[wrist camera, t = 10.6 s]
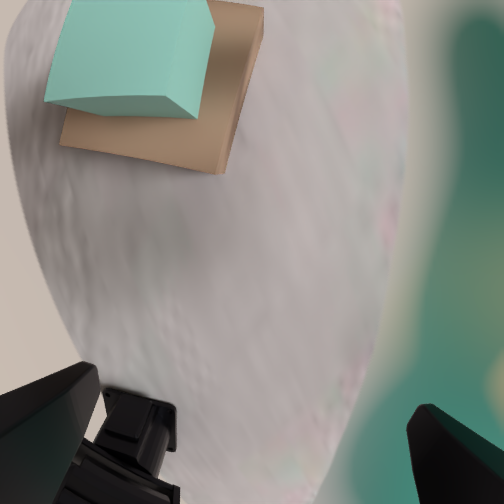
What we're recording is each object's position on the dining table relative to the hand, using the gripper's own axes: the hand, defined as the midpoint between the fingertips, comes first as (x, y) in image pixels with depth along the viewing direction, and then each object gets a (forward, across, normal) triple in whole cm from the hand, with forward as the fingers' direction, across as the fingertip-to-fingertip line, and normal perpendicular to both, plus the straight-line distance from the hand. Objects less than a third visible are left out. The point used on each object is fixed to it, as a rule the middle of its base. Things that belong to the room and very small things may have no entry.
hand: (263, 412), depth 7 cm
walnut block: (+12, +7, -10) cm, 17 cm away
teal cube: (+8, +7, -10) cm, 15 cm away
